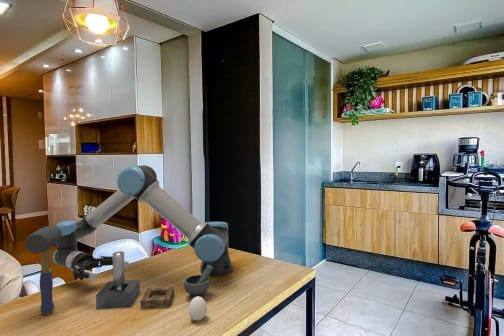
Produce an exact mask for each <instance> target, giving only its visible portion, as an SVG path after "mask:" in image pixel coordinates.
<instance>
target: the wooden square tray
mask: <svg viewBox="0 0 504 336" xmlns="http://www.w3.org/2000/svg"><path fill="white" fill-rule="evenodd" d="M174 295H175V287H172V286H171V287H169V286H168V287H167V286H166V287H154V288H153V287H150V288H147V289H146V291H145V292H144V294H143V296H142V298H141V299H140V310H147V309H148V310H150V309H151V310H152V309H165V308H166V309H167V308H170V307H171V303H172V302H173V299H174Z"/></svg>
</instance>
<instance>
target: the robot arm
mask: <svg viewBox="0 0 504 336" xmlns="http://www.w3.org/2000/svg"><path fill="white" fill-rule="evenodd" d="M116 180H117V184H116V185H117V188H118V189H117V191H115V192H114V193H112V195H110V196H109V197H108V198H106V199H105V200H104V201H102V203H101V204H99V205H98V206H97V207H96V208H94V209H93V210H92V211H90V212H89V213H88V214H87V215H85V217H83V218H82V219H81V220H79V221H77V222H76V221H75V220H64V221H61V222H57V224H56V227H58V228H59V229H60V231H61V233H62V235H61V239H60V240H59V241H58V242H57V243H56V250H55V251H54V252H53V255H52V260H53V263H54V264H55V265H58V266H59V267H61V268H62V267H63V268H67V269H70V272H71V273H72V275H73V280H78V279H79V281H84V279H85V280H86V279H87V280H89V281H92V282H96V281H98V280H97V272H93V271H91V270H92V269H95V268H102V267H105V266H106V267H107V266H113V256H112V255H111V256H110V255H109V256H108V255H107V256H106V255H101V256H100V257H99V258H96V257H94V256H93V255H92V254H90V253H88V252H84V251H79V250H78V240H80V239H82V238H84V237H87V236H89V235H91V234H93V233H94V232H95V231H96V230H97V229H98V228H99V227H100V226H101V225H102V224H104V223H105V222H106V221H107V220H109V219H110V218H112V216H114V215H115V214H116V213H117V212H119V211H120V210H121V209H122V208H124V207H125V206H127V205H128V203H130V202H131V201H132V200H134V199H135V200H136V201H138V202H139V203H143V202H145V203H146V204H147V205H148V206H149V207H151V208H152V210H154V211H155V212H156V213H158V214H159V215H160V216H161V217H162V218H163V219H165V220H166V221H167V222H168V223H169V224H170V225H171V226H172V227H174V228H175V229H176V230H177V231H179V233H180V234H182V235H183V236H184V237H185V238H186V239H187V243H188V245H189V246H190V247H191V248H192V249H193V250H194V253H195V256H196V257H197V258H198V259H199V260H200V261H201V263H200V267H199V268H200V269H199V271H200V274H201V275H202V274H203V273H204V271H205V269H206V266H207V265H210V266H212V267H213V270H211V272H210V274H209V277H223V276H226V275H228V274H231V272H232V271H233V262H232V260H231V257H230V254H229V229H230V228H229V224H228V223H227V222H226V221H225V222H224V221H206V222H201V221H200V220H199V219H198V218H197V217H195V216H194V215H193V214H192V213H191V212H189V210H187V209H186V208H185V207H184V206H182V204H180V203H179V202H178V201H177V200H175V198H173V197H172V196H171V195H170V194H169V193H168V192H166V191H165V190H164V189H163V188H162V187H161V186H160V181H159V180H158V176H157V173H156V171H155V169H154V168H153V167H151V166H148V165H144V164H143V165H142V164H141V165H129V166H127V167H124V168H123V169H122V170H121V171H120V172H119V174H118V176H117V179H116ZM129 268H130V267H129V261H128V260H125V259H124V269H129Z"/></svg>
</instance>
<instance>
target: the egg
mask: <svg viewBox="0 0 504 336" xmlns="http://www.w3.org/2000/svg"><path fill="white" fill-rule="evenodd" d="M189 302H190V303H189V305H188V314H189V317H190V318H191V319H192V320H193V321H201V320H203V319H204V318H205V316H206V315H207V312H208V305H207V302H206V301H205V298H204V299H203V298H202V297H199V296H197V297H195V298H193V299H192V301H191V300H190V301H189Z"/></svg>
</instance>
